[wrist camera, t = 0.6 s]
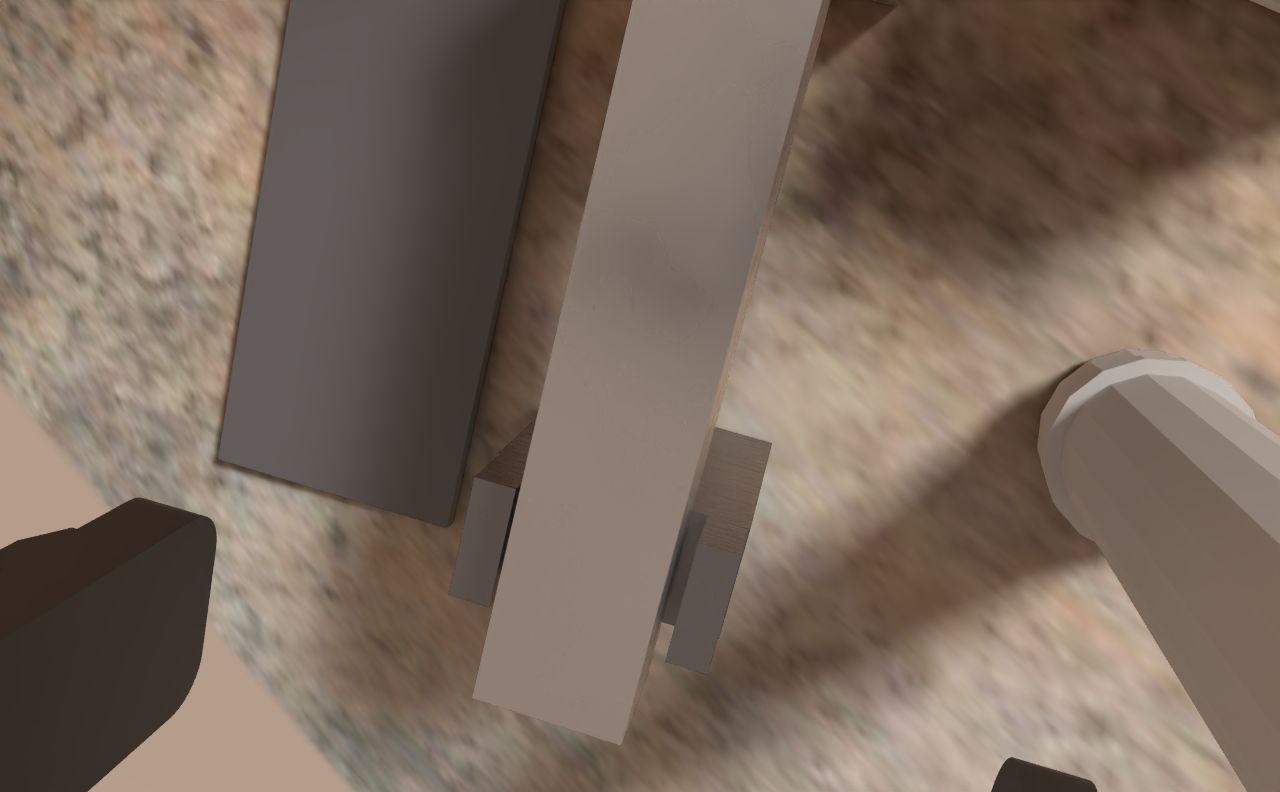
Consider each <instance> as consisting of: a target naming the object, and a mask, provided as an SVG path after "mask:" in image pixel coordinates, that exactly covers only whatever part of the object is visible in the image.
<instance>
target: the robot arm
mask: <svg viewBox="0 0 1280 792" xmlns="http://www.w3.org/2000/svg"><path fill="white" fill-rule="evenodd" d="M216 542H217V536H216V528H215V525H214V523H213V521H212V520H211V519H210V518H208V517H206V516H202V515H199V514H195V513H192V512H189V511H185V510H182V509H179V508H175V507H172V506H168V505H165V504H162V503H158V502H155V501H152V500H148V499H145V498H134V499H132V500H129V501H127V502H126V503H124V504H122V505H120V506H118V507H116V508H115V509H113V510H111V511H109V512H107V513H105V514H104V515H102V516H100V517H98V518H96V519H95V520H92V521H91V522H89V523H87V524H85V525H83V526H82V527H80V528H78V529H75V528H68V529H65V530H60V531H56V532H52V533H48V534H43V535H39V536H35V537H30V538H26V539H22V540H18V541H16V542H14V543H12V544H10V545H8V546H6V547H4V548H2V549H1V550H0V792H88V791H89V790H90V789H91V788H92V787H93V786H94V785H95V784H97V783H98V782H99V781H100V780H101V779H102V778H103V777H104V776H105V775H107V774H108V773H109V772H110V771H111V770H112V769H113V768H115V767H116V766H117V765H118V764H119V763H120V762H121V761H122V760H123V759H125V758H126V757H127V756H128V755H129V754H130V753H131V752H132V751H134V750H135V749H136V748H137V747H138V746H139V745H140V744H141V743H143V742H144V741H145V740H146V739H147V738H148V737H149V736H151V735H152V734H153V733H154V732H155V731H156V730H157V729H158V728H160V726H162V725H163V724H164V723H165V722H166V721H167V720H169V719H170V718H171V717H172V716H173V715H174V714H175V712H176V711H177V710H178V709H179V707H180V706H181V705H182V703H183V702H184V700H185V698H186V697H187V695H188V693H189V691H190V689H191V687H192V685H193V683H194V680H195V678H196V675H197V672H198V669H199V665H200V662H201V657H202V650H203V643H204V635H205V628H206V620H207V613H208V605H209V597H210V590H211V582H212V575H213V567H214V559H215V552H216ZM991 792H1097V789H1096V787H1095V785H1094V783H1093V782H1092V781H1090V780H1087V779H1084V778H1080V777H1077V776H1074V775H1070V774H1067V773H1064V772H1060V771H1057V770H1053V769H1050V768H1047V767H1043V766H1040V765H1036V764H1033V763H1030V762H1026V761H1023V760H1020V759H1016V758H1013V757H1011V758H1008V759H1007V760H1006V761H1005V762H1004V764H1003V765H1002V767H1001V769H1000V771H999V773H998V775H997V777H996V780H995V782H994V785H993V788H992V791H991Z"/></svg>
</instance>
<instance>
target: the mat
mask: <svg viewBox="0 0 1280 792" xmlns="http://www.w3.org/2000/svg"><path fill="white" fill-rule="evenodd" d="M565 1H566V0H291V1H290V7H289V14H288V20H287V26H286V33H285V39H284V45H283V52H282V58H281V64H280V70H279V77H278V83H277V89H276V96H275V102H274V108H273V115H272V121H271V127H270V134H269V140H268V146H267V153H266V159H265V165H264V171H263V178H262V184H261V190H260V197H259V203H258V209H257V216H256V222H255V228H254V235H253V241H252V247H251V253H250V260H249V266H248V272H247V279H246V285H245V291H244V298H243V304H242V310H241V317H240V323H239V329H238V336H237V342H236V348H235V354H234V361H233V367H232V373H231V380H230V386H229V392H228V399H227V405H226V411H225V418H224V424H223V430H222V436H221V443H220V449H219V455H218V459H219V460H223V461H226V462H229V463H232V464H236V465H239V466H242V467H246V468H249V469H252V470H256V471H259V472H262V473H265V474H269V475H272V476H275V477H279V478H282V479H285V480H289V481H292V482H295V483H299V484H302V485H305V486H308V487H312V488H315V489H318V490H322V491H325V492H328V493H332V494H335V495H338V496H341V497H345V498H348V499H351V500H355V501H358V502H361V503H365V504H368V505H371V506H375V507H378V508H381V509H384V510H388V511H391V512H394V513H398V514H401V515H404V516H408V517H411V518H414V519H417V520H421V521H424V522H427V523H431V524H434V525H437V526H441V527H444V528H448V527H449V526H450V525H451V524H452V523H453V520H454V515H455V510H456V506H457V501H458V497H459V492H460V487H461V483H462V478H463V473H464V469H465V464H466V460H467V455H468V450H469V446H470V441H471V436H472V432H473V427H474V423H475V418H476V413H477V409H478V404H479V399H480V395H481V390H482V386H483V381H484V376H485V372H486V367H487V362H488V358H489V353H490V348H491V344H492V339H493V335H494V330H495V325H496V321H497V316H498V311H499V307H500V302H501V298H502V293H503V288H504V284H505V279H506V274H507V270H508V265H509V261H510V256H511V251H512V247H513V242H514V237H515V233H516V228H517V224H518V219H519V214H520V210H521V205H522V200H523V196H524V191H525V187H526V182H527V177H528V173H529V168H530V163H531V159H532V154H533V150H534V145H535V140H536V136H537V131H538V126H539V122H540V117H541V113H542V108H543V103H544V99H545V94H546V89H547V85H548V80H549V75H550V71H551V66H552V62H553V57H554V52H555V48H556V43H557V38H558V34H559V29H560V25H561V20H562V15H563V11H564V6H565Z"/></svg>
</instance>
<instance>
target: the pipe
mask: <svg viewBox="0 0 1280 792" xmlns="http://www.w3.org/2000/svg"><path fill="white" fill-rule="evenodd" d="M1037 450H1038V454H1039V457H1040V460H1041V466H1042V469H1043V472H1044V476H1045V479H1046V482H1047V485H1048V489H1049V492H1050V495H1051V498H1052V501H1053V503H1054V505H1055V506H1056V507H1057V509H1058V510H1059V511H1060V512H1061V513H1062V514H1063V515H1064V517H1065V518H1066V519H1067V520H1068V521H1069V522H1070V523H1071V525H1072V526H1073V527H1074V528H1075V529H1076V530H1077V531H1078V533H1079V534H1080V535H1081V536H1083V537H1085V538H1087V539H1089V540H1091V541H1093V542H1095V543H1096V544H1097V545H1098V547H1099V549H1100V550H1101V552H1102V554H1103V555H1104V557H1105V559H1106V560H1107V562H1108V563H1109V565H1110V567H1111V568H1112V570H1113V572H1114V573H1115V575H1116V577H1117V578H1118V580H1119V582H1120V583H1121V585H1122V586H1123V588H1124V590H1125V591H1126V593H1127V595H1128V596H1129V598H1130V600H1131V601H1132V603H1133V605H1134V606H1135V608H1136V609H1137V611H1138V613H1139V614H1140V616H1141V618H1142V619H1143V621H1144V623H1145V624H1146V626H1147V628H1148V629H1149V631H1150V633H1151V634H1152V636H1153V637H1154V639H1155V641H1156V642H1157V644H1158V646H1159V647H1160V649H1161V651H1162V652H1163V654H1164V656H1165V657H1166V659H1167V660H1168V662H1169V664H1170V665H1171V667H1172V669H1173V670H1174V672H1175V674H1176V675H1177V677H1178V679H1179V680H1180V682H1181V683H1182V685H1183V687H1184V688H1185V690H1186V692H1187V693H1188V695H1189V697H1190V698H1191V700H1192V702H1193V703H1194V705H1195V707H1196V708H1197V710H1198V711H1199V713H1200V715H1201V716H1202V718H1203V720H1204V721H1205V723H1206V725H1207V726H1208V728H1209V730H1210V731H1211V733H1212V734H1213V736H1214V738H1215V739H1216V741H1217V743H1218V744H1219V746H1220V748H1221V749H1222V751H1223V753H1224V754H1225V756H1226V758H1227V759H1228V761H1229V762H1230V764H1231V766H1232V767H1233V769H1234V771H1235V772H1236V774H1237V776H1238V777H1239V779H1240V781H1241V782H1242V784H1243V785H1244V787H1245V789H1246V790H1247V792H1280V437H1279V436H1277V435H1276V434H1274V433H1273V432H1272V431H1270V430H1269V429H1267V428H1266V427H1264V426H1263V425H1262V424H1260V423H1259V422H1257V421H1256V420H1255V416H1254V413H1253V410H1252V409H1251V408H1250V407H1249V406H1248V404H1247V403H1246V402H1245V401H1244V400H1243V399H1242V398H1241V396H1240V395H1239V394H1238V393H1237V392H1236V391H1235V389H1234V388H1233V387H1232V386H1231V385H1230V384H1229V382H1228V381H1227V380H1226V379H1224V378H1223V377H1221V376H1219V375H1217V374H1215V373H1213V372H1211V371H1209V370H1207V369H1205V368H1203V367H1200V366H1198V365H1196V364H1194V363H1192V362H1190V361H1188V360H1186V359H1184V358H1177V357H1174V356H1172V355H1170V354H1168V353H1166V352H1161V351H1146V350H1132V349H1125V350H1122V351H1118V352H1115V353H1112V354H1108V355H1105V356H1102V357H1098V358H1095V359H1092V360H1089V361H1088V362H1086V363H1085V364H1084V365H1082V366H1081V367H1080V368H1078V369H1077V370H1076V371H1075V372H1073V373H1072V374H1071V375H1069V376H1068V377H1067V378H1065V379H1064V380H1063V381H1062V382H1060V383H1059V385H1058V386H1057V388H1056V390H1055V392H1054V393H1053V395H1052V397H1051V398H1050V400H1049V402H1048V403H1047V405H1046V407H1045V409H1044V410H1043V412H1042V414H1041V420H1040V428H1039V436H1038V444H1037Z"/></svg>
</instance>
